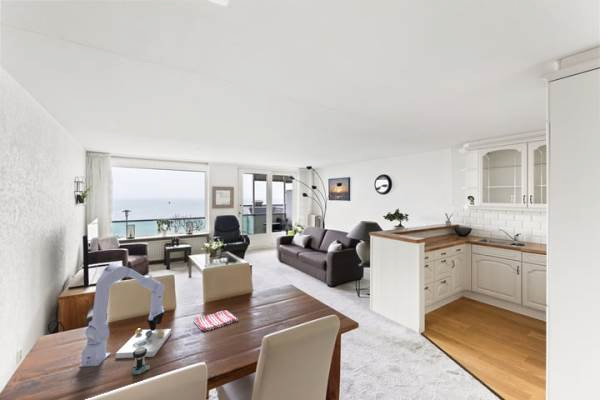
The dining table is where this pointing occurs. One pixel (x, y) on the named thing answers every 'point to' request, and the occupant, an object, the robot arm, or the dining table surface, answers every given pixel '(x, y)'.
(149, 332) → the ball
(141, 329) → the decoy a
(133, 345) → the plate
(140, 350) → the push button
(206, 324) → the dish towel
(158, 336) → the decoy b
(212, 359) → the dining table surface
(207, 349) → the dining table surface
